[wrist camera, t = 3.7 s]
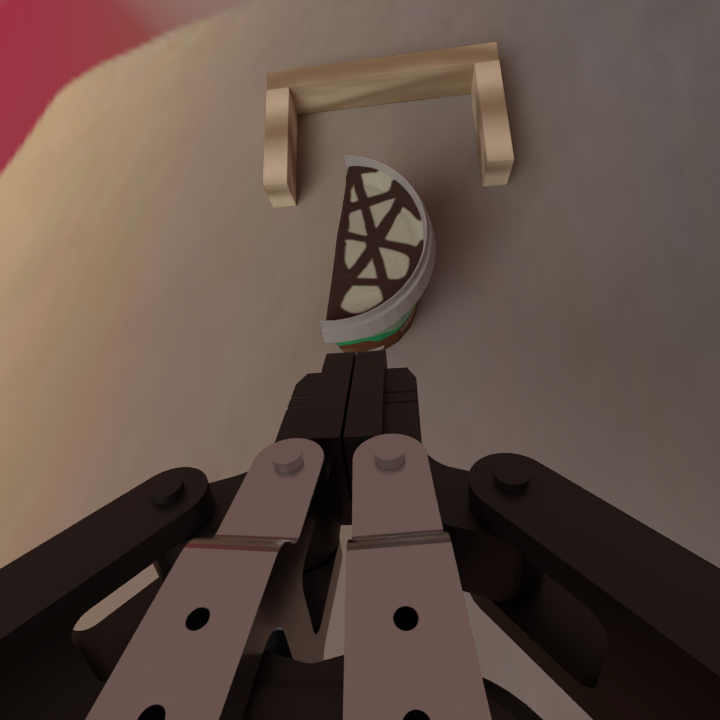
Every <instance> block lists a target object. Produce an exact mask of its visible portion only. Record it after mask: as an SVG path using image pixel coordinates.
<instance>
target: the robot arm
mask: <svg viewBox="0 0 720 720" xmlns="http://www.w3.org/2000/svg"><path fill="white" fill-rule="evenodd" d="M291 398H292V399H291V400H290V402H289V405H288V410H287V411H286V413H285V416H284V419H283V421H282V424H281V427H280V430H279V432H278V435H277V438H276V441H275V443H274V444H272V445H270V446H268V447H266V448H265V449H263V450H262V451H261V452H260V453H259V454H258V455H257V456H256V458H255V459H254V461H253V463H252V465H251V467H250V469H249V471H248V472H245V473H243V474H241V475H237V476H234V477H231V478H227V479H223V480H220V481H216V482H212V483H208V480H207V477H206V475H205V474H204V473H203V472H202V471H200V470H199V469H196V468H191V467H181V468H174V469H170V470H167V471H164V472H162V473H160V474H157V475H155V476H154V477H152V478H150V479H148V480H147V481H145V482H143V483H142V484H140V485H138V486H137V487H135V488H134V489H132V490H130V491H129V492H127V493H125V494H124V495H122V496H120V497H119V498H117V499H115V500H114V501H112V502H110V503H109V504H107V505H105V506H104V507H102V508H100V509H99V510H97V511H95V512H94V513H92V514H91V515H89V516H87V517H86V518H84V519H82V520H81V521H79V522H77V523H76V524H74V525H72V526H71V527H69V528H67V529H66V530H64V531H62V532H61V533H59V534H57V535H56V536H54V537H52V538H51V539H49V540H47V541H46V542H44V543H43V544H41V545H39V546H38V547H36V548H34V549H33V550H31V551H29V552H28V553H26V554H24V555H23V556H21V557H19V558H18V559H16V560H14V561H13V562H11V563H9V564H8V565H6V566H4V567H3V568H1V569H0V720H543V719H541V718H540V717H539V716H538V715H537V714H536V713H535V712H534V711H533V710H532V709H531V708H529V707H528V706H527V705H526V704H525V703H523V702H522V701H521V700H519V699H518V698H517V697H515V696H514V695H513V694H511V693H510V692H509V691H507V690H505V689H504V688H502V687H500V686H498V685H497V684H495V683H493V682H492V681H490V680H487V679H485V678H483V677H482V675H481V670H480V666H479V662H478V657H477V653H476V648H475V644H474V640H473V635H472V631H471V626H470V622H469V618H468V613H467V609H466V604H465V600H464V596H463V591H465V592H469V593H470V594H471V596H472V598H473V600H474V601H475V603H476V604H477V605H478V606H479V608H480V609H481V610H482V611H483V612H484V613H486V614H487V615H488V616H489V617H490V618H491V619H492V620H493V621H494V622H495V623H496V624H497V625H498V626H499V627H500V628H501V629H502V630H503V631H504V632H505V633H506V634H507V635H508V636H509V637H510V638H511V639H512V640H513V641H514V642H515V643H516V644H517V645H518V646H519V647H520V648H521V649H522V650H523V651H524V652H525V653H526V654H527V655H528V656H529V657H530V658H531V659H532V660H533V661H534V662H535V663H536V664H537V665H538V666H539V667H540V668H541V669H542V670H543V671H544V672H545V673H546V674H547V675H548V676H549V677H550V678H551V679H553V680H554V681H555V682H556V683H557V684H558V685H559V686H560V687H561V688H562V689H563V690H564V691H565V692H566V693H567V694H568V695H569V696H570V697H571V698H572V699H573V700H574V701H575V702H576V703H577V704H578V705H579V706H580V707H581V708H582V709H583V710H584V711H585V712H586V713H587V714H588V715H589V716H590V717H591V718H592V719H593V720H720V568H718V567H716V566H715V565H713V564H711V563H709V562H708V561H706V560H704V559H703V558H701V557H699V556H698V555H696V554H694V553H692V552H691V551H689V550H687V549H686V548H684V547H682V546H680V545H679V544H677V543H675V542H674V541H672V540H670V539H669V538H667V537H665V536H663V535H662V534H660V533H658V532H657V531H655V530H653V529H652V528H650V527H648V526H646V525H645V524H643V523H641V522H640V521H638V520H636V519H634V518H633V517H631V516H629V515H628V514H626V513H624V512H623V511H621V510H619V509H617V508H616V507H614V506H612V505H611V504H609V503H607V502H606V501H604V500H602V499H600V498H599V497H597V496H595V495H594V494H592V493H590V492H589V491H587V490H585V489H583V488H582V487H580V486H578V485H577V484H575V483H573V482H571V481H570V480H568V479H566V478H565V477H563V476H561V475H560V474H558V473H556V472H554V471H553V470H551V469H549V468H548V467H546V466H544V465H543V464H541V463H539V462H537V461H535V460H533V459H531V458H529V457H526V456H523V455H519V454H513V453H497V454H492V455H489V456H486V457H483V458H481V459H480V460H478V461H477V462H476V463H475V464H474V465H473V466H472V468H471V470H470V471H466V470H461V469H456V468H452V467H448V466H445V465H443V464H441V463H439V462H437V461H435V460H434V459H432V458H431V457H430V456H429V455H428V454H427V452H426V450H425V448H424V446H423V445H422V442H421V430H420V418H419V406H418V394H417V382H416V377H415V376H414V375H413V374H412V373H411V372H410V370H409V369H408V368H392V369H387V359H386V351H385V350H377V351H363V352H357V354H356V353H355V352H346V353H332V354H327V355H326V358H325V361H324V365H323V368H322V372H321V373H311V374H307V375H306V376H305V377H304V378H303V379H302V380H300V381H299V382H298V383H297V384H296V386H295V389H294V391H293V394H292V397H291ZM341 525H352V540H348V542H347V553H346V597H345V643H344V655H342V656H339V657H335V658H331V659H327V660H324V661H323V659H324V647H325V641H326V636H327V631H328V626H329V621H330V616H331V611H332V606H333V601H334V596H335V592H336V587H337V582H338V577H339V572H340V567H341V562H342V549H341V543H340V538H339V534H340V526H341ZM152 563H153V565H154V567H155V569H156V571H157V573H158V575H159V578H157V579H156V580H155V581H153V582H152V583H151V584H149V585H148V586H147V587H145V588H144V589H143V590H141V591H140V592H139V593H138V594H136V595H135V596H134V597H132V598H131V599H130V600H128V601H127V602H126V603H124V604H123V605H122V606H120V607H119V608H118V609H116V610H115V611H114V612H112V613H111V614H110V615H108V616H107V617H106V618H105V619H103V620H102V621H101V622H99V623H98V624H96V625H95V626H93V627H91V628H89V629H87V630H83V631H75V630H73V628H74V626H75V624H76V623H77V621H78V620H79V619H80V617H81V616H82V615H83V614H84V613H85V612H87V611H88V610H89V609H91V608H92V607H93V606H95V605H96V604H97V603H99V602H100V601H102V600H103V599H104V598H106V597H107V596H108V595H110V594H111V593H112V592H114V591H115V590H117V589H118V588H119V587H121V586H122V585H123V584H125V583H126V582H128V581H129V580H130V579H132V578H133V577H134V576H136V575H137V574H139V573H140V572H141V571H143V570H144V569H145V568H147V567H148V566H149V565H151V564H152Z"/></svg>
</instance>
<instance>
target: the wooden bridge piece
mask: <svg viewBox="0 0 720 720" xmlns="http://www.w3.org/2000/svg"><path fill="white" fill-rule="evenodd" d="M470 93H471V100H472V108H473V116H474V124H475V132H476V140H477V148H478V156H479V164H480V172H481V180H482V187H488V186H498V185H507V183H508V179H509V176H510V172H511V169H512V165H513V162H514V155H513V148H512V141H511V135H510V128H509V122H508V115H507V109H506V102H505V96H504V89H503V82H502V76H501V69H500V63H499V56H498V50H497V43H496V42H493V43H485V44H478V45H470V46H463V47H455V48H448V49H440V50H433V51H426V52H418V53H411V54H403V55H396V56H388V57H381V58H373V59H366V60H358V61H351V62H343V63H336V64H329V65H321V66H314V67H306V68H299V69H291V70H284V71H276V72H269V73H267V98H266V123H265V147H264V172H263V187H264V189H265V191H266V193H267V195H268V197H269V199H270V201H271V203H272V205H273V207H274V208H280V207H290V206H296V182H297V117H298V115H299V114H307V113H315V112H323V111H331V110H339V109H348V108H356V107H364V106H372V105H380V104H388V103H396V102H405V101H413V100H421V99H429V98H437V97H445V96H453V95H462V94H470Z"/></svg>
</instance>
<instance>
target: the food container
mask: <svg viewBox="0 0 720 720" xmlns="http://www.w3.org/2000/svg"><path fill="white" fill-rule="evenodd" d="M344 157H345V163H346V168H347V176H346V188H345V194H344V201H343V207H342V213H341V219H340V224H339V229H338V235H337V241H336V250H335V259H334V267H333V275H332V282H331V289H330V296H329V303H328V311H327V318H326V321H320V324H321V326H322V329H321V331H322V334H323V337H324V340H325V343H333V342H335V343H336V344H337V345H338V346H339V347H340V349H341V350H342V351H343V352H344V353H346V352H355V353H356V354H357V352H363V351H377V350H385V349H387V348H388V347H390V346H392V345H393V344H395V343H396V342H398V341H399V340H400V338H401V337H402V336H403V335H404V334H405V332H406V331H407V330H408V329H409V328H410V326H411V323H412V321H413V318H414V316H415V313H416V307H417V301H418V300H419V298H420V297H421V296H422V294H423V292H424V290H425V289H426V287H427V285H428V283H429V281H430V278H431V275H432V272H433V269H434V263H435V257H436V240H435V235H434V230H433V226H432V223H431V221H430V218H429V215H428V212H427V210H426V207H425V205H424V203H423V201H422V200H421V198H420V196H419V195H418V193H417V192H416V191H415V190H414V188H413V187H412V186H411V185H410V184H409V183H408V182H407V180H406V179H405V178H404V177H402V176H401V175H400V174H399V173H397V172H396V171H395V170H393V169H392V168H390V167H388V166H386V165H385V164H383V163H380V162H377V161H375V160H372V159H369V158H364V157H360V156H352V155H344Z"/></svg>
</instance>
